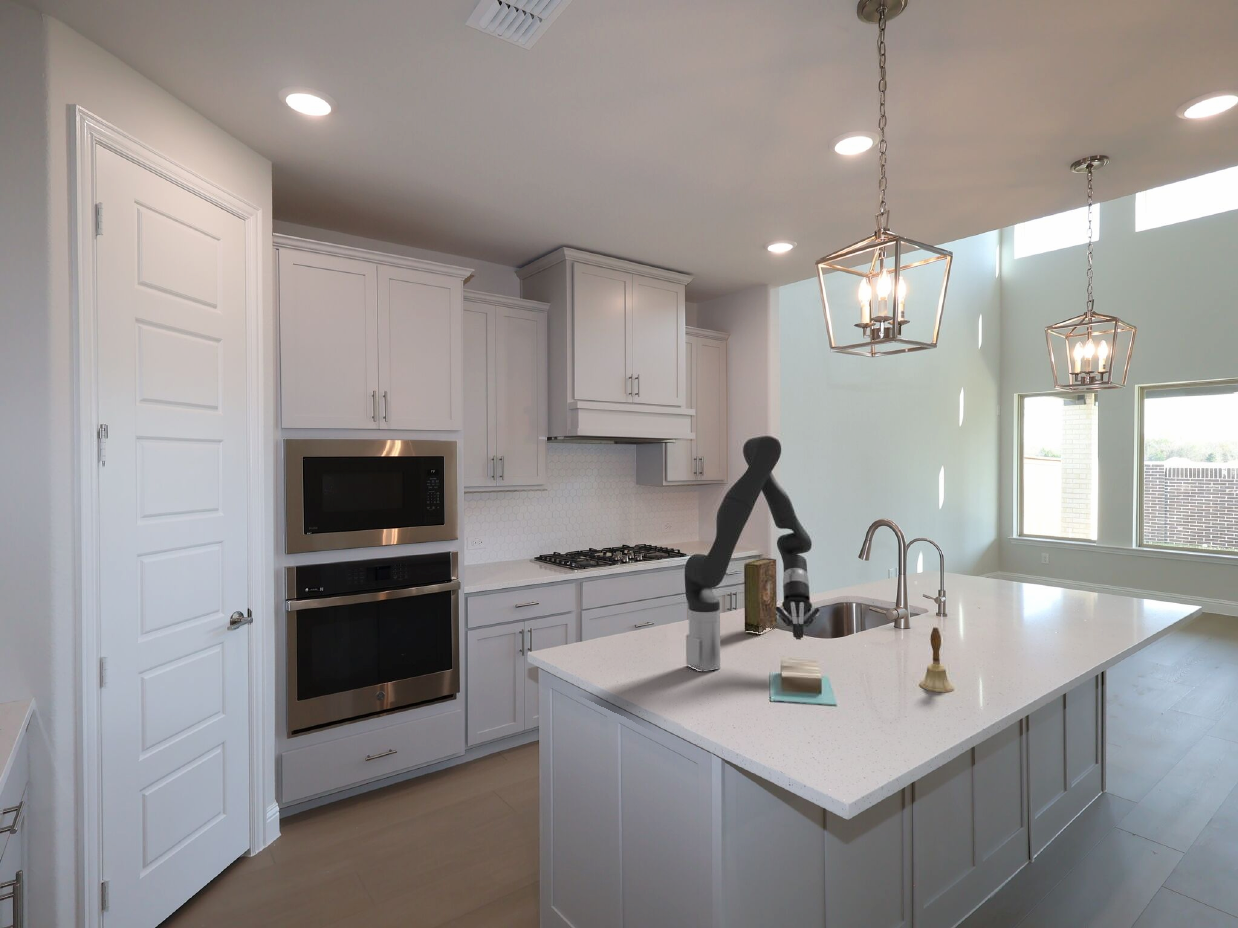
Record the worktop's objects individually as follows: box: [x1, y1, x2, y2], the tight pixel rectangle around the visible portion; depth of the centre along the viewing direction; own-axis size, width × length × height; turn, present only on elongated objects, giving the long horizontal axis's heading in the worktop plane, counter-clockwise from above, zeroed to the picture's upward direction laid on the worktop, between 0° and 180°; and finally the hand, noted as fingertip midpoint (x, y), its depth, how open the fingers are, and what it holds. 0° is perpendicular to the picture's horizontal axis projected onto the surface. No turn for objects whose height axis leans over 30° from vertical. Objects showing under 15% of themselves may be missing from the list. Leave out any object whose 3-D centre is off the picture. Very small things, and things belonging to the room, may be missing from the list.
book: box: [743, 557, 778, 633], centre depth 237 cm, size 16×6×25 cm, turn 143°
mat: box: [769, 672, 838, 707], centre depth 174 cm, size 22×16×1 cm
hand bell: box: [919, 626, 955, 693], centre depth 175 cm, size 8×8×16 cm
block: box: [780, 657, 822, 694], centre depth 178 cm, size 4×10×16 cm
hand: (798, 637), depth 184 cm, fingers closed
